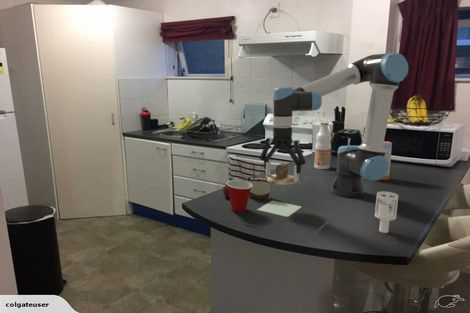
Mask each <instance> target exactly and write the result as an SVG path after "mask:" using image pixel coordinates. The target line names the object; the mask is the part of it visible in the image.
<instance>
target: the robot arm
mask: <svg viewBox="0 0 470 313" xmlns="http://www.w3.org/2000/svg"><path fill="white" fill-rule="evenodd" d="M408 73H409V64H408V61H407V60H406V57H405V56H404V55H402V54H400V53H398V52H386V53H377V54H375V53H374V54H370V55H367V56H365V57H363V58H361V59H359V60H357V61H354V62H352V63H349V64H348V65H347V66H346V68H344V69H341V70H338V71H335V72H333V73H331V74H329V75H326V76H323V77H321V78H319V79H317V80H314V81H312V82H309V83H306V84H305V85H302V86H300V87H297V88H293V87H289V86H287V87H286V86H284V87H282V86H278V87H275V88H274V90H273V99H272V101H273V104H272V105H273V118H272V120H273V122H272V126H273V128H272V136H273V137H266V138H265V143H264V147H263V150H262V151H261V154H260V157H259V160H260V161H263V169H264V170H265V176H266V178H267V177H268V176H270V175H271V167H272V166H271V160H270V159H271V158H272V156H273V155H274V154H275V153H276V151H277V150H282V151H286V152H287V153H288V154H289V156H290V157H291V159H292V161H293V163H294V164H295V165H294V166H293V168H294V169H293V176H294V182H296V183H297V182H298V181H299V174H301V170H302V166H304V165H306V159H305V157H304V153H303V151H302V149H301V145H300V144H301V143H300V140H299V139H295V140H293V128H292V126H293V112H305V111H306V112H309V111H311V112H313V111H317V110H319V109H320V108H321V106H322V97H324V96H326V95H330V94H331V93H334V92H337V91H339V90H341V89H343V88H346V87H348V86H351V85H356V86H357V85H358V84H363V83H367V82H368V83H369V86H370V87H371V94H370V101H369V105H368V111H367V115H366V121H365V126H364V131H363V137H362V142H361V144H360V145H341V146H339V147H338V149H337V154H336V155H337V156H336V157H337V159H336V174H335V175H336V176H335V178H334V181H333V183H332V185H331V190H330V191H331V193H333V195H336V196H341V197H343V198H344V197H345V198H359V197H363V196H364V195H365V188H364V183H363V180H366V181H368V182H369V181H370V182H378V181H380V179H381V178H382V177H384V176H385V174H386V173H387V171H388V168H389V163H388V161H387V159H386V158H385V152H386V151H385V150H384V148H383V143H384V141H385V137H386V133H387V132H386V131H387V127H388V122H389V116H390V112H391V109H392V108H391V106H392V102H393V96H394V92H395V91H396V90H397V89H398V88H399V87H400V86H399V85H400V82H402V81H404V79H405V78H406V77H407V76H408ZM271 144H273V146H272V148H271V149H270V147H271ZM292 146H294V149H295V150H294V149H293V147H292ZM269 149H270V151H269ZM362 178H363V179H362Z"/></svg>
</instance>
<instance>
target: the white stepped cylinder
mask: <svg viewBox="0 0 470 313" xmlns="http://www.w3.org/2000/svg"><path fill="white" fill-rule="evenodd" d="M398 202H399V194H397V193H395V192H392V191H377V192H376V199H375V209H374V217H375V218H377V219H379V229H378V230H379V231H378V232H380V233H384V234H388V233H389V230H390V221H395V220H396V219H397V212H398Z"/></svg>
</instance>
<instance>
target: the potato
mask: <svg viewBox="0 0 470 313" xmlns="http://www.w3.org/2000/svg"><path fill="white" fill-rule="evenodd" d="M222 193H223V196H225V198H229V199H230V197H229V191H228V186H227V184H226V185H224V186H223V188H222Z"/></svg>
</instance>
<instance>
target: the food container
mask: <svg viewBox="0 0 470 313" xmlns="http://www.w3.org/2000/svg"><path fill="white" fill-rule="evenodd" d="M245 181H247V182H250V183H251V184H253V187H252V188H251V190H250V193H249V198H251V199H260V200H267V201H269V200H270V199H271V198H270V197H271V191H272V185H273V184H272V183H269V182H268V181H267V178H266V175H263V174H262V175H259V174H257V175H255V174H254V175H249V176H247V177H246V180H245ZM249 198H248V199H249Z"/></svg>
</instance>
